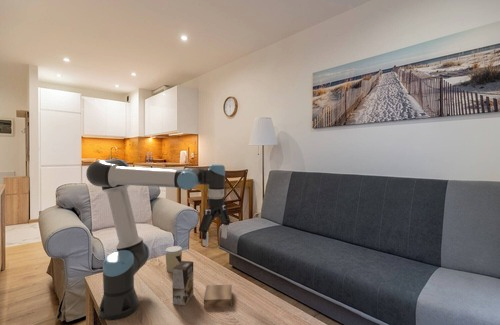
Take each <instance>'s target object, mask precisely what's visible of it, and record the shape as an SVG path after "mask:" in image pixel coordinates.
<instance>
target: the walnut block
mask: <svg viewBox="0 0 500 325" xmlns="http://www.w3.org/2000/svg"><path fill="white" fill-rule="evenodd" d="M232 291H233V290H232V284H212V285H211V284H207V285H206V286H205V292H204V297H203V309H206V308H207V309H210V308H211V309H212V308H215V309H216V308H232V294H233V293H232Z"/></svg>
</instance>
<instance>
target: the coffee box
mask: <svg viewBox="0 0 500 325" xmlns="http://www.w3.org/2000/svg"><path fill="white" fill-rule="evenodd" d="M193 296H194V261H189V260H188V261H187V260H181V262H180V263H179V264H177V265H176V266H175V267H174V268H173V272H172V304H173V305H180V306H186V305H187V304H188V302H189V301H190V300H191V298H192V297H193Z"/></svg>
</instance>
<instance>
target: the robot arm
mask: <svg viewBox="0 0 500 325" xmlns="http://www.w3.org/2000/svg"><path fill="white" fill-rule="evenodd" d="M86 180H88V182H89V183H90V184H92V185H93V186H95V187H99V188H101V189H102V191H103V192H105V193H106V194H107V198H108V202H109V203H108V204H109V206H110V210H111V215H112V220H113V223H114V226H115V231H116V235H117V240H118V243H117V245H116V251H114V252H111V253H110V254H108V255H107V256H106V257H105V258H104V259H103V263H102V280H103V296H102V298H101V303H100V304H99V307H98V308H99V309H98V310H99V311H98V314H99V317H100V318H101V319H103V320H106V321H112V320H114V321H116V320H120V319H124V318H126V317H129V316H130V315H132V314H133V313H135V312H136V310H138V308H139V305H140V304H139V297H138V294H137V292H136V290H135V275H136V273H137V272H139V271H140V269H141V268H142V267H143V266H145V264H146V263H147V261H148V260H149V258H150V248H149V246H148V245H147V244H146V243H145V242H144V239H143V238H142V237H141V236H139V234H138V230H137V225H136V221H135V217H134V214H133V208H132V205H131V201H130V196H129V195H130V194H129V191H128V188H129V186H135V187H136V186H138V187H139V186H141V187H156V188H157V187H158V188H173V189H174V188H175V189H176V188H177V189H182V190H183V191H190V190H193V189H194V188H195V187H197V186H198V185H204V186H208V190H207V191H208V192H207V196H208V198H207V200H208V201H207V206H208V207H209V209H204V210H203V215H202V216H203V217H202V219H201V221H200V224H199V228H198V232H200V233H201V239H202V246H204V247H206V248H208V247H209V229H210V226H211V225H212V223H213V221H214V220H215V219H216V218H219V219H220V221H221V223H222V224H221V236H220V237H221V238H223V239H227V237H228V226H229V225H230V223H231V218H230V215H229V213H228V212H229V211H228V206H227V205H225V198H224V197H225V189H226V187H225V186H226V167H225V165H224V164H209V166H208V168H197V167H196V168H194V167H186V168H184V169H183V170H182V169H181V170H180V169H165V168H149V167H148V168H146V167H130V165H129V164H128V163H127V162H126V161H125V160H122V159H118V158H109V159H97V160H95V161H93V162H92V163H90V164H89V166H88V167H87V169H86Z"/></svg>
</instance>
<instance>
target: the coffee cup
mask: <svg viewBox="0 0 500 325" xmlns="http://www.w3.org/2000/svg"><path fill="white" fill-rule="evenodd" d="M164 252H165V263H166V267H165V268H166V272H168V273H173V268H174V267H175V266H176V265H177V264H179V263H180V262H181V261H182V258H183V256H182V254H183V248H182V246H179V245H171V246H168V247H166V249H165V250H164Z"/></svg>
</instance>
